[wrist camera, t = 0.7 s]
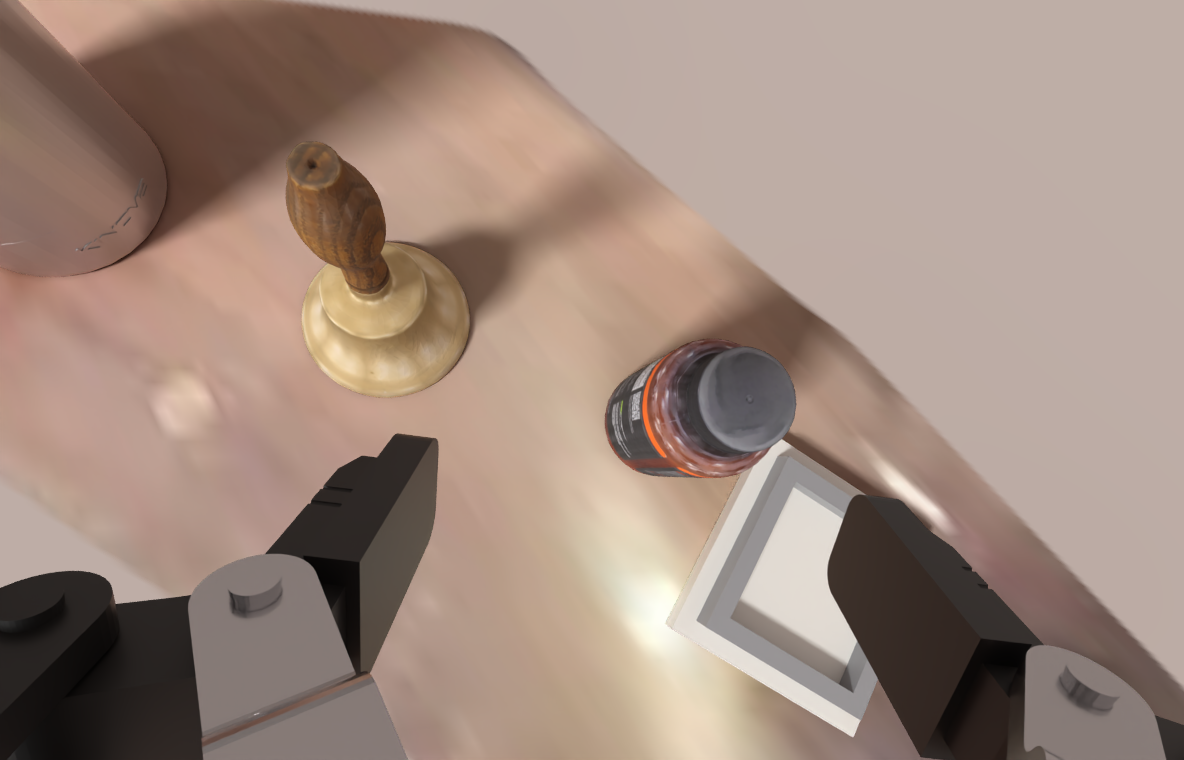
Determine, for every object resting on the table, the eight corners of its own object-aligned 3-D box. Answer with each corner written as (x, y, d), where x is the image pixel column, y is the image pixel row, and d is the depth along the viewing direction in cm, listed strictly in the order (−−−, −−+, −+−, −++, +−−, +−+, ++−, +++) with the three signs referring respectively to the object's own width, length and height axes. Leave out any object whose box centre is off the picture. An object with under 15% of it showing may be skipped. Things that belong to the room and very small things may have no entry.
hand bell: (453, 233, 31) (438, 2, 15) (484, 380, 30) (501, 293, 15) (289, 255, 29) (83, 15, 13) (318, 413, 28) (134, 351, 13)
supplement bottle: (719, 446, 32) (848, 437, 21) (631, 495, 31) (721, 512, 20) (673, 353, 33) (777, 297, 22) (583, 397, 31) (646, 361, 20)
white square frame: (665, 623, 30) (679, 635, 28) (761, 432, 33) (782, 430, 31) (841, 729, 31) (868, 748, 29) (920, 536, 34) (950, 541, 32)
